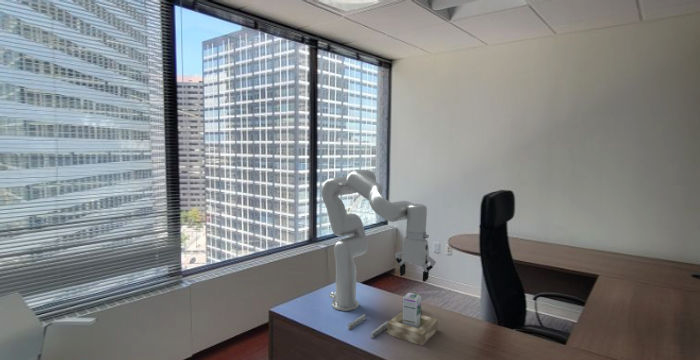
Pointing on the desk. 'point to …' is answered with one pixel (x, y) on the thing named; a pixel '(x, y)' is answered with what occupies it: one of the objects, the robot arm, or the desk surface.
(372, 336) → the stand rails
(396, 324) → the beige square tray
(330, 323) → the desk surface
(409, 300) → the syrup box
